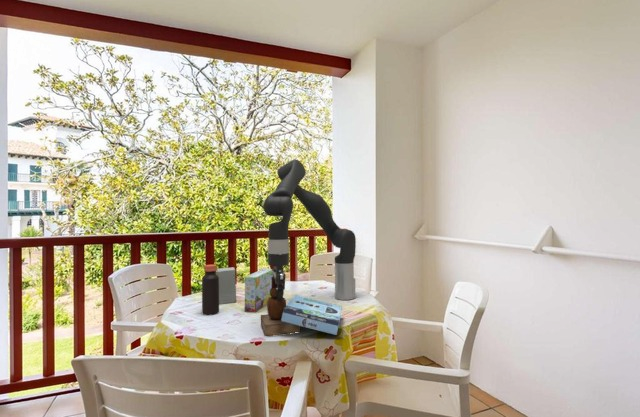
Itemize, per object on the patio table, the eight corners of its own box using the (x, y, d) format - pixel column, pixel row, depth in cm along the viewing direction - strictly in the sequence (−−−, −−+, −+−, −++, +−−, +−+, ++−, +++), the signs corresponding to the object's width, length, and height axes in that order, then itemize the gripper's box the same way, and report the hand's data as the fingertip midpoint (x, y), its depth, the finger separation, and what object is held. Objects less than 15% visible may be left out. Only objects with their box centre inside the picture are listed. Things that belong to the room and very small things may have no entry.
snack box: (256, 312, 146) (256, 276, 146) (244, 312, 147) (243, 276, 147) (273, 300, 167) (273, 268, 167) (262, 299, 168) (261, 268, 168)
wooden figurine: (265, 320, 122) (266, 277, 122) (267, 315, 128) (268, 274, 128) (285, 320, 122) (286, 278, 122) (286, 315, 128) (287, 275, 128)
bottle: (212, 316, 142) (211, 267, 142) (198, 314, 144) (198, 266, 144) (222, 311, 148) (222, 264, 148) (209, 310, 150) (208, 263, 150)
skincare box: (235, 299, 168) (235, 266, 168) (236, 303, 161) (236, 269, 161) (217, 301, 165) (216, 267, 166) (217, 304, 159) (217, 270, 159)
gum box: (342, 306, 138) (340, 320, 115) (339, 319, 138) (336, 336, 115) (295, 294, 140) (284, 306, 117) (292, 306, 140) (280, 321, 117)
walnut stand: (292, 322, 133) (292, 311, 133) (299, 332, 121) (299, 321, 121) (260, 325, 129) (260, 314, 129) (265, 336, 118) (265, 325, 118)
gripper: (265, 250, 131) (265, 295, 131) (271, 254, 118) (271, 305, 117) (284, 249, 133) (284, 293, 133) (292, 253, 120) (292, 303, 120)
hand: (278, 298), depth 125 cm, fingers closed on wooden figurine, 4 cm apart
